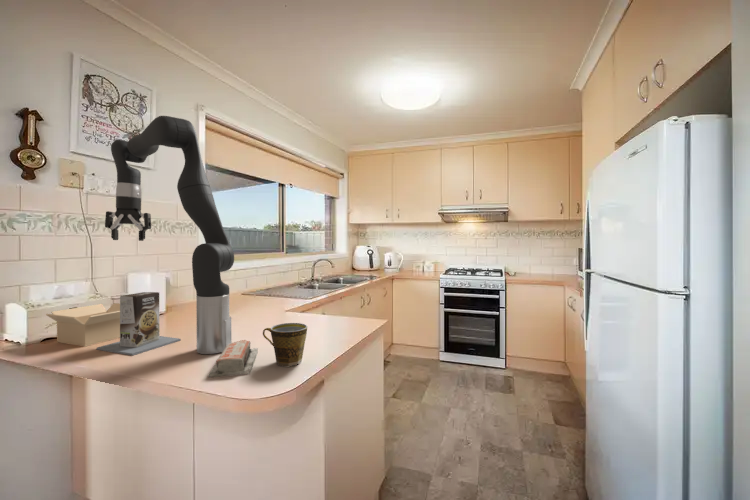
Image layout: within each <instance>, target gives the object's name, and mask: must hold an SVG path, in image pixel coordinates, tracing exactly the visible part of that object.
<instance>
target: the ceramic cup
mask: <svg viewBox="0 0 750 500" xmlns="http://www.w3.org/2000/svg"><path fill="white" fill-rule="evenodd" d="M266 331H268V332H270V337H271V339H270V338H268V337H267V336H266V334H265V332H266ZM307 332H308V326H307V324H305V323H301V322H299V323H298V322H287V323H279V324H276V325H273V326H271V327H266V328H264V329H263V331H262V336H263V338H264V339H266V340H267V342H269V343H270V345H271V346H272V347H273V350H274V351H273V352H274V355H275V361H276V362H275V363H276V364H277V365H278V367H284V366H291V367H293V366H292V365H295V366H298V365H300V364H301V363H302V360H303V355H304V350H305V344H306V340H307V339H306V338H307ZM300 362H301V363H300ZM299 363H300V364H299ZM297 364H298V365H297Z"/></svg>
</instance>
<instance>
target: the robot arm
mask: <svg viewBox="0 0 750 500" xmlns="http://www.w3.org/2000/svg"><path fill="white" fill-rule="evenodd" d="M160 146H164V147H168V148H173V149H181V150H182V153H183V157H184V165H183V169H182V171H181V172H180V173H181V174H180V175H179V178H178V180H177V185H176V187H177V188H176V189H177V193H178V195H179V199H180V202H181V205H182V208H183V210H184V212H185V213H186V214H187V215H188V216H189V218H190V219H191V220H192V221H193V223H194V224H195V225H196V226H197V228H198V229H199V230H200V232H201V234H202V237H203V238H204V242H205V243H201V244H198V245H197V246H196V247H195V248H194V250H193V252H192V257H191V263H192V264H191V267H192V270H191V271H192V283H193V287H194V289H195V291H196V295H195V296H196V298H195V299H196V303H195V305H196V307H195V308H196V310H195V311H196V353H198V354H202V355H213V354H218V353H222V352H223V351H224V349H225V348H226V346H227V345H228V344H231V343H232V317H231V316H230V286H229V284H227V283H225V282H223V281H222V278H221V273H222V272H227V271H229V270H230V269H231V268H233V265H234V263H235V254H234V251H233V248H232V246H231V243H230V241H229V239H228V236H227V234H226V232H225V229H224V227H223V224H222V220H221V217H220V215H219V212H218V209H217V206H216V202H215V198H214V194H213V192H212V189H211V186H210V185H211V184H210V183H209V180H208V177H207V173H206V170H205V167H204V163H203V160H202V154H201V150H200V145H199V141H198V136H197V132H196V129H195V127H194V124H193V123H192V122H191V121H190V120H188V119H184V118H180V117H175V116H169V115H158V116H157V117H154V119H153V120H152V121H151V122H150V123H149V124H148V125H147V126H146V127H145V129H144V130H143V131H142V132H141V133H139V134H137V135H135V136H133V137H131V138H130V139H129V140H123V139H116V140H113V142H112V144H111V145H110V151H111V156H112V158H113V161H114V165H115V168H116V187H115V210H116V211H115V212H113V211H107V210H106V211H105V221H104V227H105V228H107V229H110V233H111V236H110V237H111V239H112V240H113V241H118V240H119V228H121V226H123V224H124V225H134V226H135V227H137V229H138V241H141V242H143V241H144V240H145V239H146V231H147V230H151V229H152V215H151V213H148V212H143V213H142V184H141V182H142V180H141V178H142V177H141V175H142V173H141V171H140V169H137V168H134V167H132V166H130V165H129V164H128V162H130V163H134V164H135V163H136V164H142V163H144V162H146V161H147V158H148V157H149V156H151V155H153V154H155V153H156V152H158V151H159V148H160ZM115 217H116V218H117V219H115V221H114V218H115ZM141 219H143V222H142V221H141Z"/></svg>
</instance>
